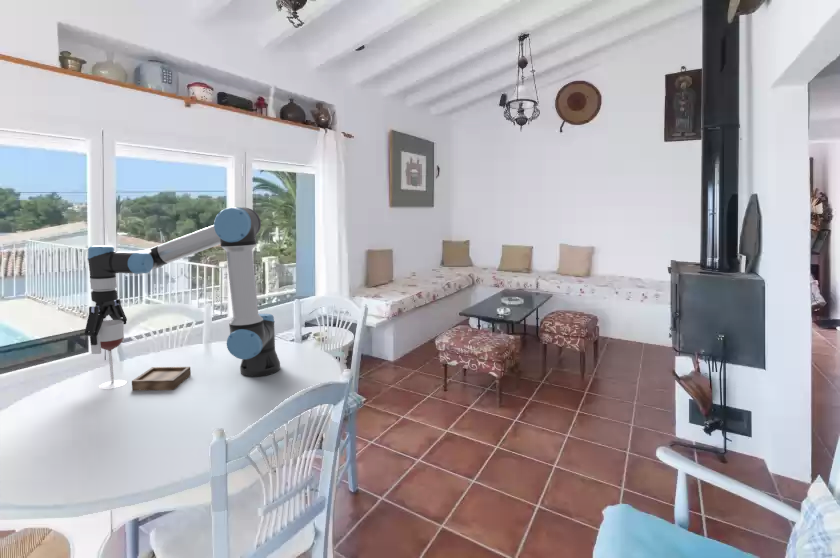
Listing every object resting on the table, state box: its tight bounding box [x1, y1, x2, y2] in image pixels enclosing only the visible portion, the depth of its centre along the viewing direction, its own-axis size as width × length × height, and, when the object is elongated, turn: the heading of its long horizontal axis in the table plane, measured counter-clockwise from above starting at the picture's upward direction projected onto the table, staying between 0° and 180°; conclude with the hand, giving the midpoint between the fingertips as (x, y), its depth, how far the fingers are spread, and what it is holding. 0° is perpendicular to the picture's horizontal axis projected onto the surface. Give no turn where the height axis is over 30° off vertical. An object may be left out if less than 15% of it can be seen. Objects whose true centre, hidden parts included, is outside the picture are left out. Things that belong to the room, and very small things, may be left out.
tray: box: [131, 366, 192, 391], centre depth 162 cm, size 14×14×4 cm
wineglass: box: [98, 319, 128, 390], centre depth 158 cm, size 9×10×23 cm
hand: (108, 347), depth 157 cm, fingers open, 13 cm apart
